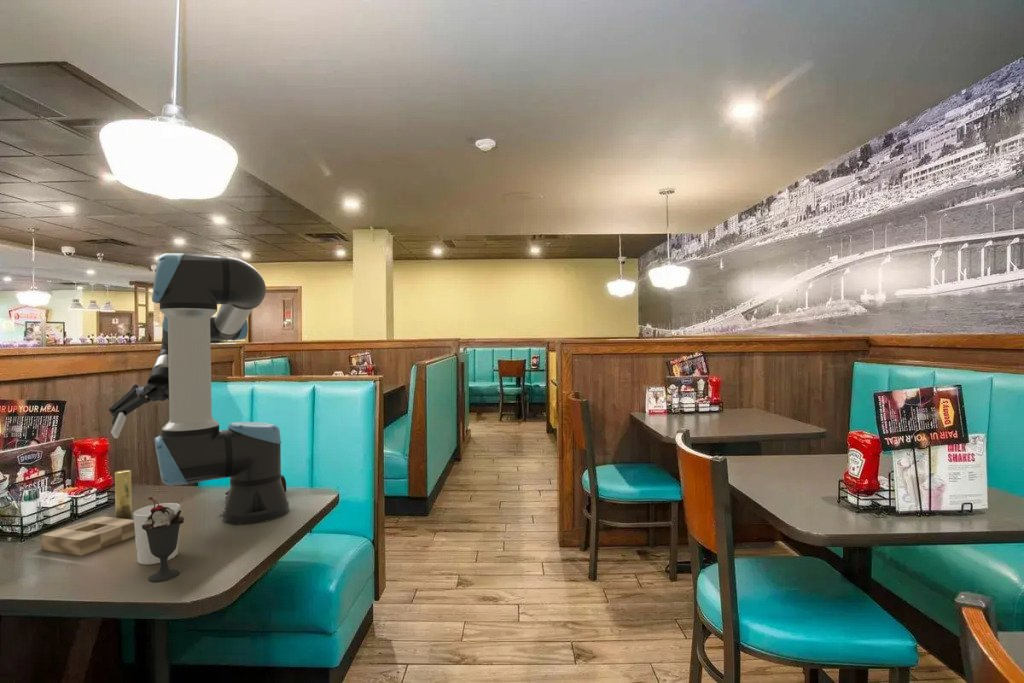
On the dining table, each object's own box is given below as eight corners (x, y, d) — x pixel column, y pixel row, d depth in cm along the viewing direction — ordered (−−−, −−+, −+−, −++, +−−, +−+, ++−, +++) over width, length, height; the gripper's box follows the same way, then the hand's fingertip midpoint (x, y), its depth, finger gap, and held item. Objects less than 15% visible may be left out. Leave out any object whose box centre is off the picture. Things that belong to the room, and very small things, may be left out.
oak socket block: (138, 536, 117) (138, 520, 117) (81, 557, 106) (80, 540, 106) (101, 531, 121) (100, 516, 121) (41, 551, 110) (40, 534, 110)
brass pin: (135, 518, 128) (134, 470, 128) (121, 523, 125) (121, 473, 125) (125, 517, 129) (124, 469, 129) (112, 522, 126) (111, 472, 126)
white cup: (181, 560, 104) (180, 510, 104) (132, 570, 100) (131, 518, 100) (181, 547, 110) (180, 500, 110) (135, 556, 106) (135, 507, 106)
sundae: (136, 578, 96) (134, 497, 96) (176, 565, 101) (175, 488, 101) (149, 588, 92) (147, 503, 92) (190, 574, 97) (189, 494, 97)
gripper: (216, 381, 158) (198, 439, 144) (123, 383, 152) (95, 444, 138) (210, 364, 153) (191, 423, 138) (113, 366, 147) (83, 428, 133)
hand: (143, 434), depth 138 cm, fingers open, 13 cm apart
